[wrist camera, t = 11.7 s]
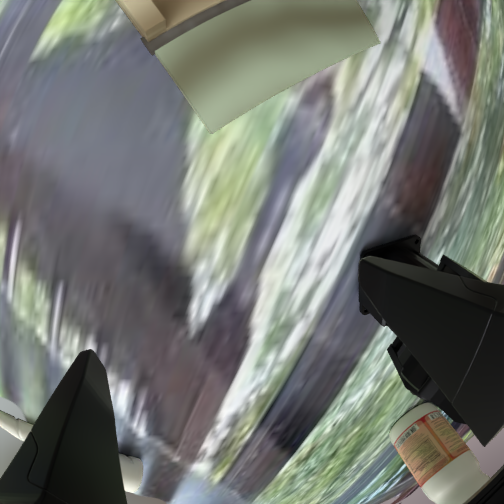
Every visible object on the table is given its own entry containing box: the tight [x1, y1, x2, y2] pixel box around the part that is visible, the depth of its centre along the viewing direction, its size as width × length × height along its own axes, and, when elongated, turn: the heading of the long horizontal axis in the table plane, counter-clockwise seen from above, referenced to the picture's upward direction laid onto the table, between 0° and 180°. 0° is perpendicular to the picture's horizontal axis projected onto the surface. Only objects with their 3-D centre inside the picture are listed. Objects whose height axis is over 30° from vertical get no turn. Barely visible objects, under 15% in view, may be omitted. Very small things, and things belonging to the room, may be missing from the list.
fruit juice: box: [389, 403, 490, 504], centre depth 30 cm, size 9×9×28 cm
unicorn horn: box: [0, 410, 143, 493], centre depth 24 cm, size 5×24×5 cm, turn 54°
